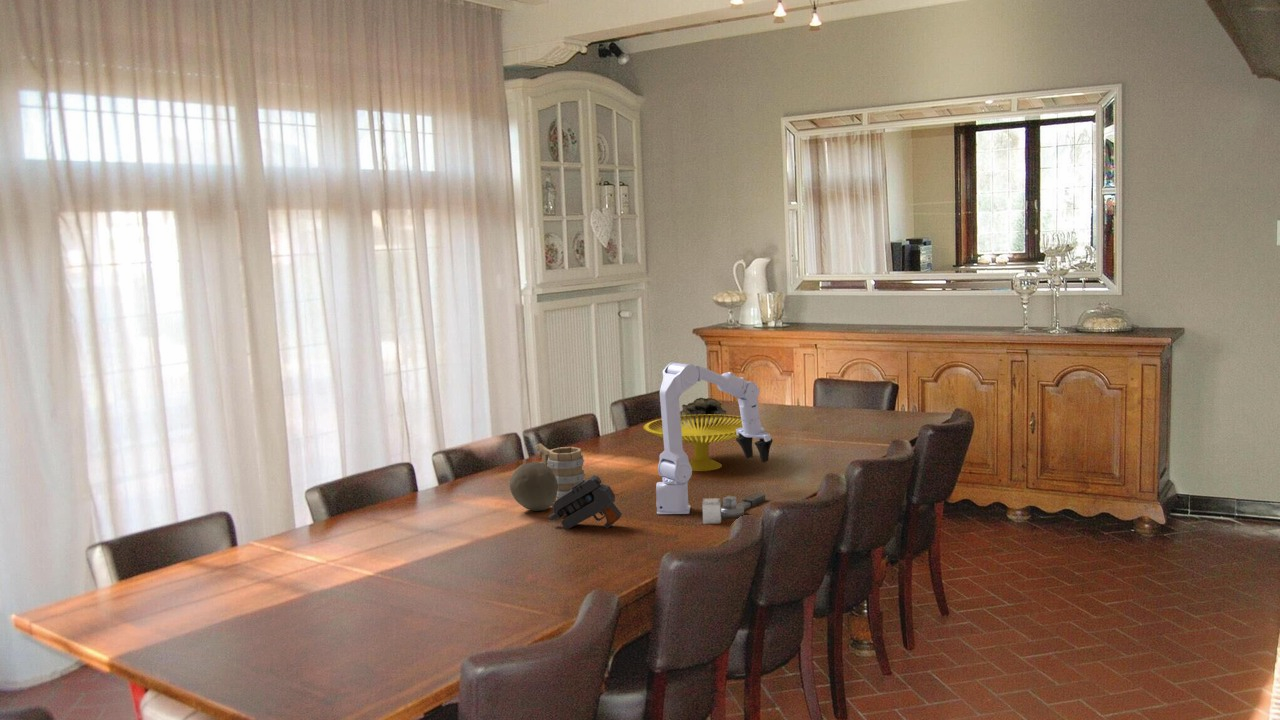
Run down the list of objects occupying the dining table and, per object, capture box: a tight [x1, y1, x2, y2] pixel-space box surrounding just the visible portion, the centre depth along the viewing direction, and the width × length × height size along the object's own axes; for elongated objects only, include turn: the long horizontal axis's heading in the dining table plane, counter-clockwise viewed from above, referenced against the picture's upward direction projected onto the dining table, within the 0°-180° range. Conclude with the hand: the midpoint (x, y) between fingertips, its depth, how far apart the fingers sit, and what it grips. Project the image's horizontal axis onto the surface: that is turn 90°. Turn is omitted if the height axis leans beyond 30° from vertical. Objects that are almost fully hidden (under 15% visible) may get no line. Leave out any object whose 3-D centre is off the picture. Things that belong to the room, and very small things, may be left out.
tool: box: [548, 474, 623, 530], centre depth 294 cm, size 6×19×15 cm, turn 78°
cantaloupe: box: [509, 461, 558, 512], centre depth 312 cm, size 14×14×15 cm
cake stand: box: [643, 414, 743, 472], centre depth 361 cm, size 40×40×15 cm
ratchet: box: [721, 492, 766, 519], centre depth 306 cm, size 22×8×5 cm, turn 144°
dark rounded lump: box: [680, 397, 728, 428], centre depth 425 cm, size 28×13×15 cm
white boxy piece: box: [701, 497, 722, 525], centre depth 294 cm, size 5×5×6 cm
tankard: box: [534, 442, 586, 499], centre depth 336 cm, size 20×13×15 cm, turn 47°
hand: (757, 459), depth 322 cm, fingers open, 7 cm apart
